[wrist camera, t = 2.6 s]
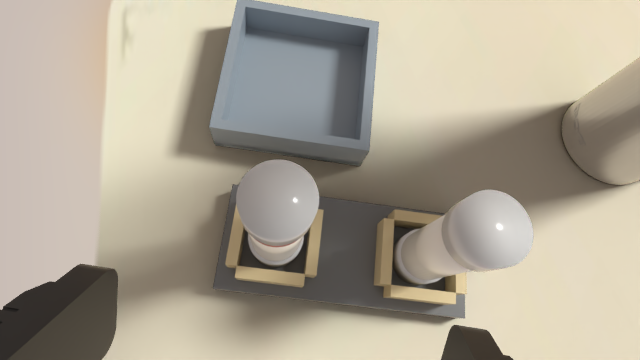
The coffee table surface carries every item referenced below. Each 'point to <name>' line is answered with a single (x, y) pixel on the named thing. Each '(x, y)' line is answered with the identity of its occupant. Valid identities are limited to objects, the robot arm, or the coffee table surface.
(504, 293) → the coffee table surface
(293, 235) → the marked fuse
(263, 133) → the parts tray
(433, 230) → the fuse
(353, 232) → the board
